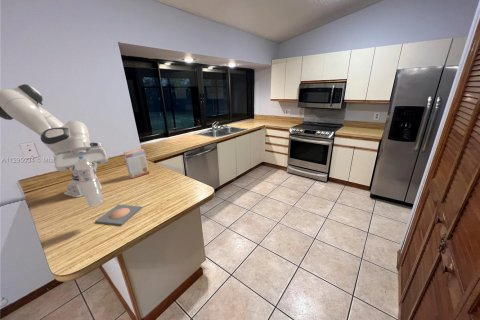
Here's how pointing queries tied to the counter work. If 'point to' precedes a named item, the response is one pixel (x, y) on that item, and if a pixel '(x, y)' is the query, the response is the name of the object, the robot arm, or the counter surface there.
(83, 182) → the water bottle
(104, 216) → the spot mat
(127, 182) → the counter surface
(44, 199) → the counter surface
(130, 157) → the cracker box
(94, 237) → the counter surface
